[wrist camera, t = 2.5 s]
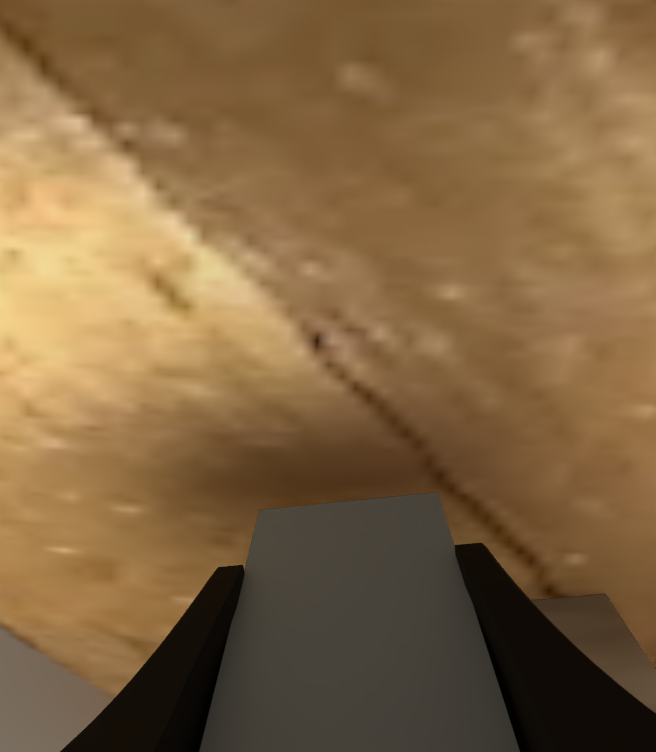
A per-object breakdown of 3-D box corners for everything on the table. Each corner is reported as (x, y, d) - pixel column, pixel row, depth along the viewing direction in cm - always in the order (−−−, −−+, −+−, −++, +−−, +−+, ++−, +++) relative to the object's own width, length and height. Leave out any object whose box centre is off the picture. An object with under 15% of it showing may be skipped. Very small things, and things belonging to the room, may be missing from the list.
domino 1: (440, 536, 14) (551, 923, 7) (268, 552, 15) (193, 938, 7) (437, 492, 14) (554, 859, 6) (259, 509, 14) (167, 878, 7)
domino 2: (603, 625, 18) (789, 935, 11) (464, 637, 18) (550, 944, 11) (605, 593, 18) (804, 895, 10) (463, 606, 18) (552, 907, 10)
